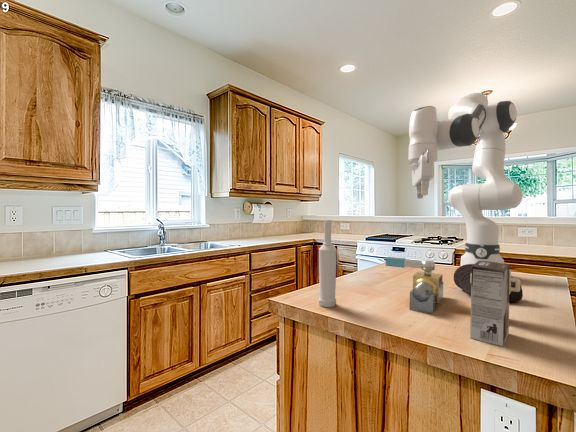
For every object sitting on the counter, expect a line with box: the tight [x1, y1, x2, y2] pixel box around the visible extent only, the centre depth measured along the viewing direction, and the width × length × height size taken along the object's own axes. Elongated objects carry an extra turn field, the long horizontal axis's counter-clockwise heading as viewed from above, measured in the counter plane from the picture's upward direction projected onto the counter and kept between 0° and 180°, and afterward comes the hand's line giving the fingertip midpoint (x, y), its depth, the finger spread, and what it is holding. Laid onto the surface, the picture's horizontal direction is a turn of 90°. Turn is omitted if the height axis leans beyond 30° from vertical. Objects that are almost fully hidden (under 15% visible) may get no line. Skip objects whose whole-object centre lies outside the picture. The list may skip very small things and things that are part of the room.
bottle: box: [318, 219, 338, 308], centre depth 90 cm, size 5×5×25 cm
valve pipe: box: [409, 270, 444, 315], centre depth 92 cm, size 20×7×10 cm, turn 146°
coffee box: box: [469, 261, 511, 347], centre depth 68 cm, size 9×6×16 cm
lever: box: [385, 256, 436, 272], centre depth 95 cm, size 14×4×3 cm, turn 56°
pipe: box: [453, 264, 524, 303], centre depth 99 cm, size 10×15×15 cm
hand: (422, 197), depth 101 cm, fingers open, 8 cm apart
